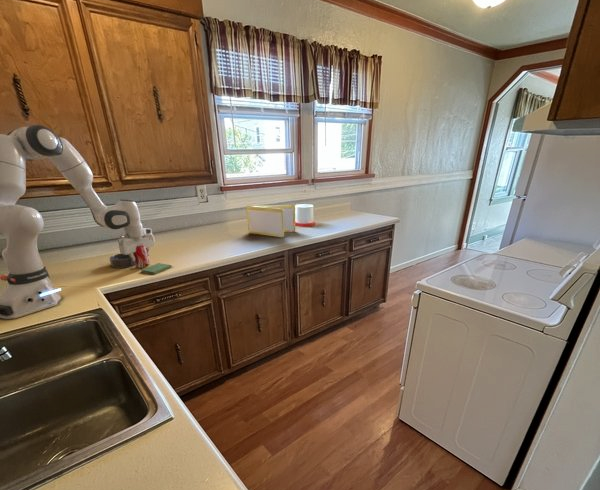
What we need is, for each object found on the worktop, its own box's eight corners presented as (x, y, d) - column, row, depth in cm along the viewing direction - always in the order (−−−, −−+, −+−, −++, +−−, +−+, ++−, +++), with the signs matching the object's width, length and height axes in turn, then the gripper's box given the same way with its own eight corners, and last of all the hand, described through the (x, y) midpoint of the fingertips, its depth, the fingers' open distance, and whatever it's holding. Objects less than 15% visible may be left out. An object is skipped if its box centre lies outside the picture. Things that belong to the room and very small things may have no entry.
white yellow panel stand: (294, 230, 248) (294, 203, 239) (298, 237, 229) (298, 208, 220) (248, 232, 244) (246, 205, 234) (248, 239, 225) (246, 210, 216)
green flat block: (154, 274, 165) (154, 272, 164) (141, 272, 168) (140, 269, 168) (171, 267, 175) (171, 265, 174) (159, 265, 178) (158, 263, 177)
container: (309, 227, 258) (309, 207, 251) (291, 225, 264) (291, 206, 257) (317, 223, 271) (317, 204, 264) (299, 221, 277) (299, 203, 270)
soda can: (145, 268, 173) (139, 246, 167) (133, 268, 174) (127, 246, 168) (152, 264, 179) (147, 242, 173) (141, 263, 180) (135, 242, 174)
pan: (123, 269, 172) (121, 261, 170) (106, 266, 177) (103, 258, 175) (142, 262, 183) (141, 254, 181) (126, 259, 188) (124, 251, 185)
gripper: (121, 237, 158) (129, 264, 165) (154, 228, 175) (159, 253, 181) (112, 236, 160) (120, 263, 167) (145, 227, 177) (151, 252, 183)
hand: (140, 258), depth 174 cm, fingers closed on soda can, 7 cm apart
